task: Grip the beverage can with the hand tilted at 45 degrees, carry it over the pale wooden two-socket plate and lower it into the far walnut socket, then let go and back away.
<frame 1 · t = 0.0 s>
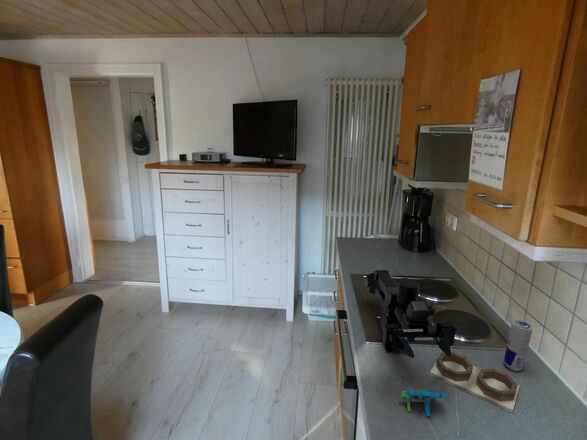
hand: (432, 356, 85), 17 cm above the worktop, tool horizontal, fingers open, 9 cm apart
socket plate: (473, 381, 99), on the worktop
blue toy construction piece: (422, 406, 91), on the worktop
beverage can: (512, 367, 104), on the worktop
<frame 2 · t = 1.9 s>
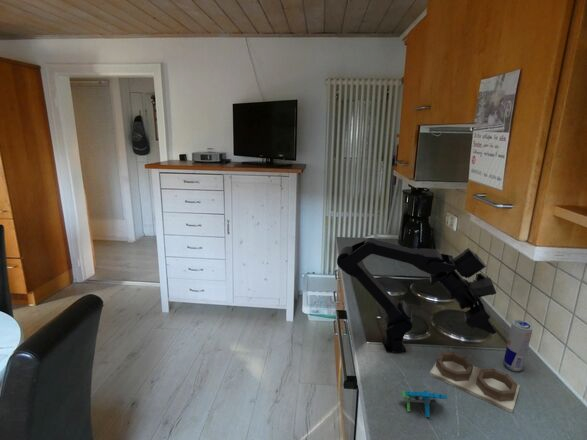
hand: (491, 323, 102), 14 cm above the worktop, tool tilted 45°, fingers open, 9 cm apart
nothing on the worktop moved.
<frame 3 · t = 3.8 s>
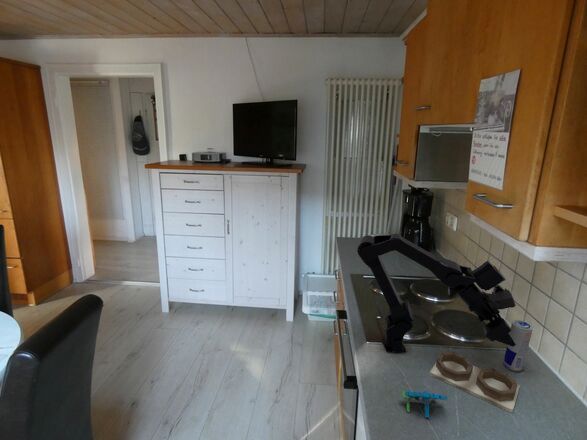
hand: (509, 335, 102), 10 cm above the worktop, tool tilted 45°, fingers open, 9 cm apart
nothing on the worktop moved.
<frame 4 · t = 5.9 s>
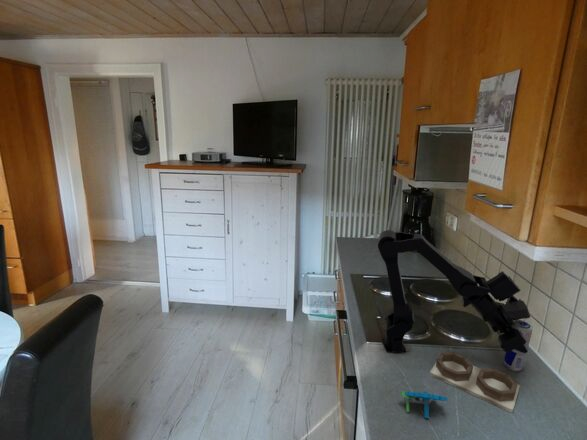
hand: (523, 346, 102), 8 cm above the worktop, tool tilted 45°, fingers closed on beverage can, 5 cm apart
beverage can: (512, 367, 104), on the worktop, touching gripper
everything else where it was.
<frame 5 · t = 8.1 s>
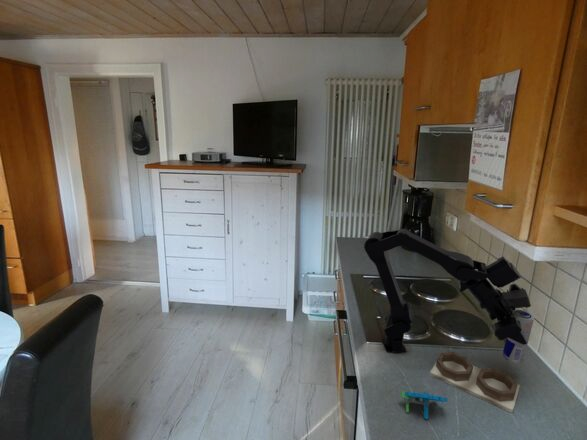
hand: (523, 338, 97), 13 cm above the worktop, tool tilted 45°, fingers closed on beverage can, 5 cm apart
beverage can: (512, 359, 99), point 5 cm above the worktop, touching gripper
everything else where it was.
when the fingers open (9 cm above the worktop, at t = 10.9 s): beverage can stays where it is, resting on socket plate.
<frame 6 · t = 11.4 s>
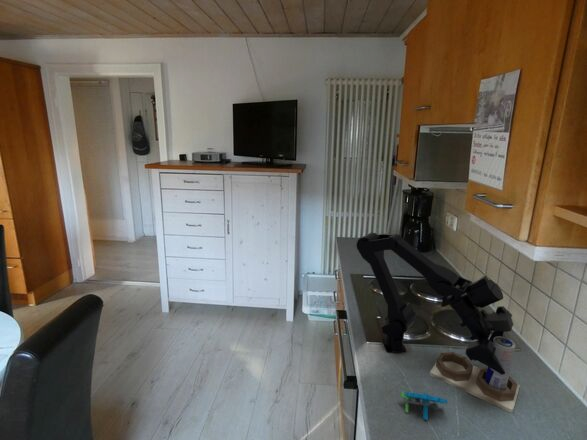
hand: (507, 364, 92), 10 cm above the worktop, tool tilted 45°, fingers open, 9 cm apart
beverage can: (494, 388, 95), point 1 cm above the worktop, touching socket plate
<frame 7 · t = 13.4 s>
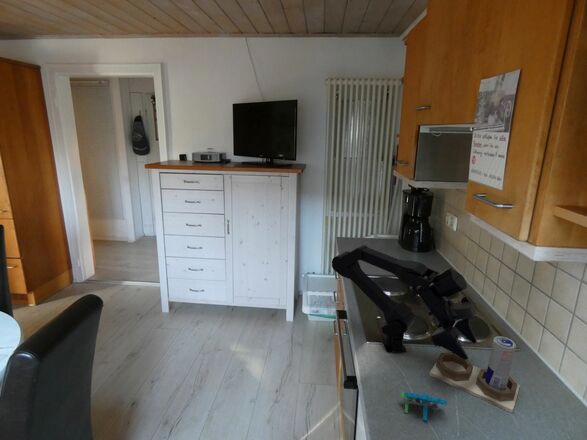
hand: (471, 350, 97), 9 cm above the worktop, tool tilted 45°, fingers open, 9 cm apart
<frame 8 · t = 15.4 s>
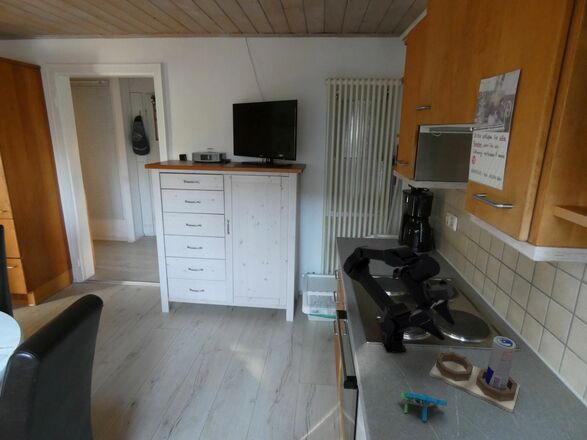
hand: (449, 332, 99), 14 cm above the worktop, tool tilted 45°, fingers open, 9 cm apart
at the end: beverage can 0.2 cm from the target spot, point 0.8 cm above the worktop; beverage can tilted 0°; the gripper is holding nothing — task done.
